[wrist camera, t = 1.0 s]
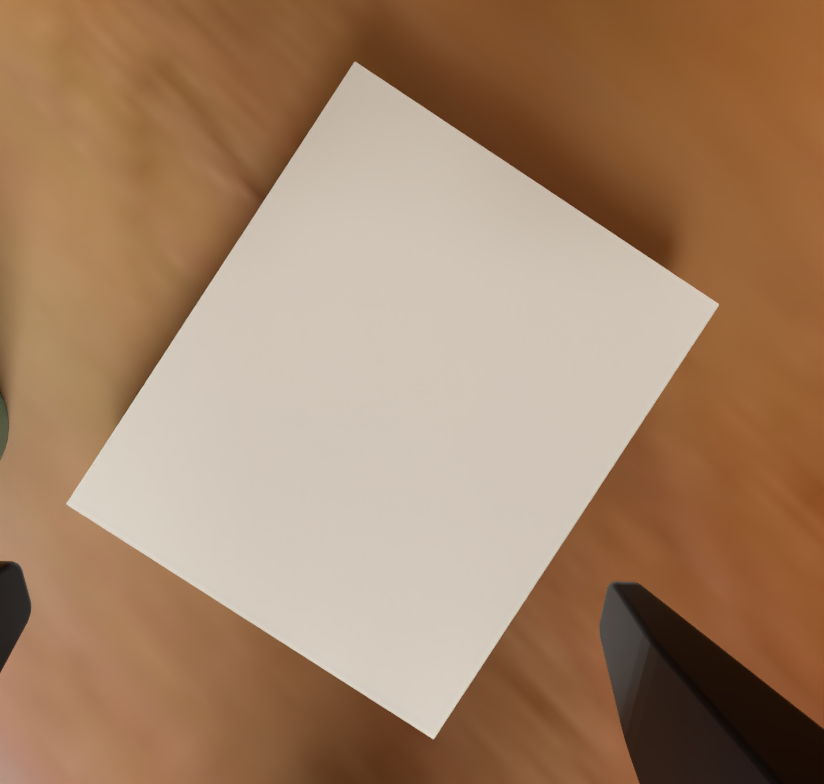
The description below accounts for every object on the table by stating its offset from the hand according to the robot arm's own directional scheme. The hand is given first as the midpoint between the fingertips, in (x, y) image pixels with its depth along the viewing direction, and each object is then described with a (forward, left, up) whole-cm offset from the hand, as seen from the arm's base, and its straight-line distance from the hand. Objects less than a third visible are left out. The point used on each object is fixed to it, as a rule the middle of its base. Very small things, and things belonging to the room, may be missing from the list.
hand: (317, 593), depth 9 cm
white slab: (+3, +1, -14) cm, 15 cm away
